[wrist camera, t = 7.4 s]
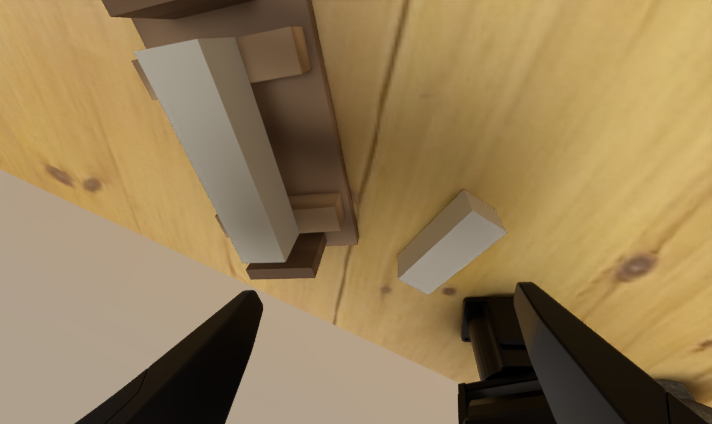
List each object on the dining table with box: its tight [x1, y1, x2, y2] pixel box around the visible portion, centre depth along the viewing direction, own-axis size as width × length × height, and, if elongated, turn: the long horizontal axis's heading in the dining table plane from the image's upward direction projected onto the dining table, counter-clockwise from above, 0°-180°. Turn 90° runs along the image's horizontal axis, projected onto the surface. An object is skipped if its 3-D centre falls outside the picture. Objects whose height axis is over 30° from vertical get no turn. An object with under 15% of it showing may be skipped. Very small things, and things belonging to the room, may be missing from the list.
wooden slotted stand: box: [102, 0, 359, 279], centre depth 17 cm, size 18×10×5 cm, turn 10°
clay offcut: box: [398, 189, 508, 295], centre depth 21 cm, size 3×8×3 cm, turn 149°
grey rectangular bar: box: [134, 37, 299, 263], centre depth 15 cm, size 12×3×3 cm, turn 9°
